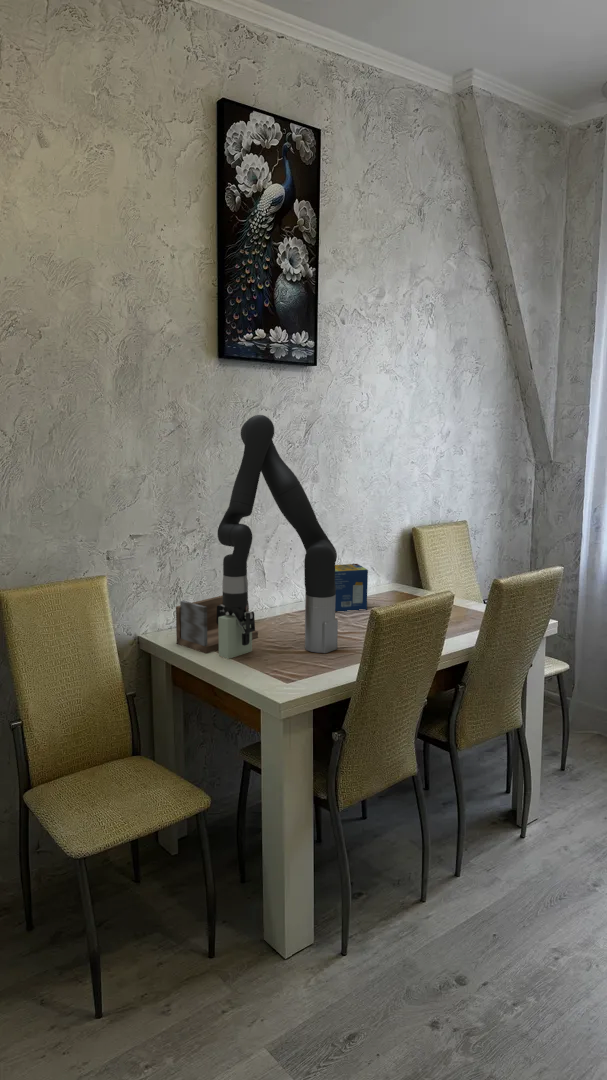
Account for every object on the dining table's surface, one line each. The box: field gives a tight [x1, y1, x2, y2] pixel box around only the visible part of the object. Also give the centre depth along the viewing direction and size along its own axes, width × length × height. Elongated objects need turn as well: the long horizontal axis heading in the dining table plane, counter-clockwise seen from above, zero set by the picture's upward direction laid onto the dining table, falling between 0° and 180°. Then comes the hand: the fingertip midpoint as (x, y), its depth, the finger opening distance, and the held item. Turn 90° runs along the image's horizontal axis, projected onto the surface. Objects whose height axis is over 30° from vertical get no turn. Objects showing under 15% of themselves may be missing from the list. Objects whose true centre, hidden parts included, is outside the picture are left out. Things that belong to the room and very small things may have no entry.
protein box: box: [335, 563, 369, 612], centre depth 278 cm, size 10×15×16 cm
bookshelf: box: [175, 594, 259, 654], centre depth 238 cm, size 14×22×14 cm, turn 138°
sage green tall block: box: [218, 615, 253, 660], centre depth 225 cm, size 4×10×12 cm, turn 139°
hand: (235, 641), depth 226 cm, fingers open, 8 cm apart
